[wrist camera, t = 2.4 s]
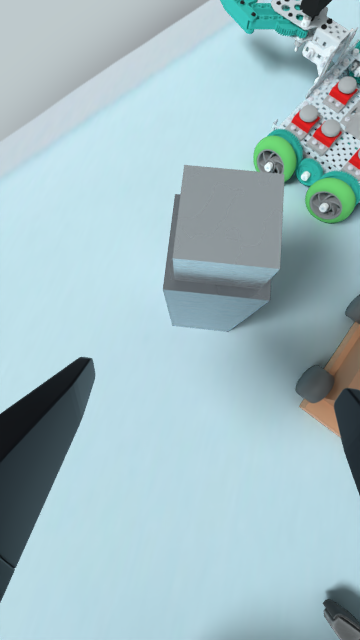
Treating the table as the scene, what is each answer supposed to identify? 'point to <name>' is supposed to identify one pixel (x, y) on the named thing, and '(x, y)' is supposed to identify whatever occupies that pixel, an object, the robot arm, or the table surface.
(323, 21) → the robot kit
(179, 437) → the table surface
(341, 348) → the wheeled chassis
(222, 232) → the grey stepped cuboid
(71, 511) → the table surface
